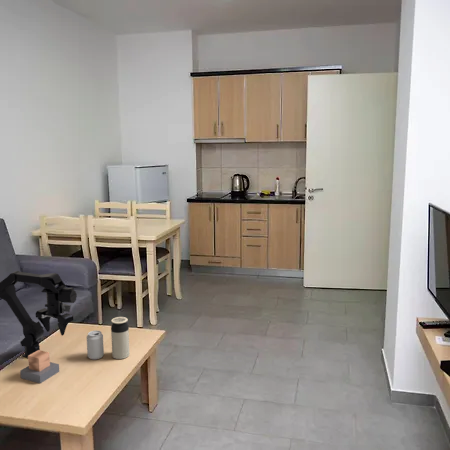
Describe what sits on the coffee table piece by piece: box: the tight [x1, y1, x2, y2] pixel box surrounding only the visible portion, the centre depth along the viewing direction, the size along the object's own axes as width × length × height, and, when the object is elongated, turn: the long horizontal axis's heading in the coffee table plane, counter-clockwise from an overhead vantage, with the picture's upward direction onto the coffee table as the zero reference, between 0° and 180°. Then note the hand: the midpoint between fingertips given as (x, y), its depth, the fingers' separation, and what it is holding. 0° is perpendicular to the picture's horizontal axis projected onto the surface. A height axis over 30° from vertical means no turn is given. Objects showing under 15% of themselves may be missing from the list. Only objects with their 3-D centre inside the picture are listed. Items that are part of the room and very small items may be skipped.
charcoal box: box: [19, 361, 60, 384], centre depth 199 cm, size 11×11×4 cm
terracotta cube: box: [27, 349, 51, 372], centre depth 199 cm, size 6×6×6 cm
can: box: [86, 330, 105, 360], centre depth 216 cm, size 8×8×12 cm
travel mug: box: [110, 316, 130, 360], centre depth 216 cm, size 8×8×18 cm
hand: (55, 333), depth 214 cm, fingers open, 9 cm apart
